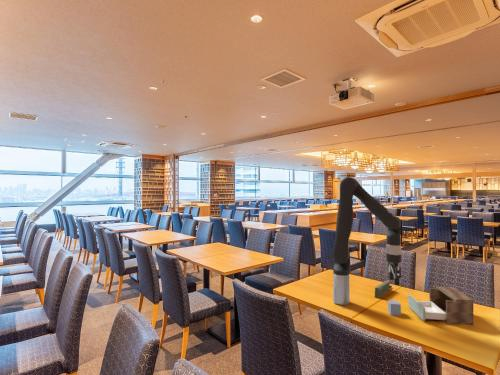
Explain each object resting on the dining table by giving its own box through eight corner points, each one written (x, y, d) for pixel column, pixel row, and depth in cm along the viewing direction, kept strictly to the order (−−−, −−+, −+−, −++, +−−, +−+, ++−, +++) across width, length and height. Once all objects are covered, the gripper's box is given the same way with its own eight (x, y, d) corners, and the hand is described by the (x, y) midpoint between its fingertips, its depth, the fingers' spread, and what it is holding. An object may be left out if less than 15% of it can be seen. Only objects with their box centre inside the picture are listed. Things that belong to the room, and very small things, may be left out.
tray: (423, 320, 147) (423, 307, 147) (408, 305, 166) (408, 294, 166) (448, 322, 145) (448, 309, 145) (430, 306, 164) (430, 295, 164)
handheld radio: (373, 297, 181) (388, 287, 199) (379, 299, 179) (393, 289, 197) (373, 287, 181) (388, 278, 199) (379, 288, 179) (393, 279, 197)
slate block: (390, 315, 156) (390, 304, 156) (387, 311, 161) (387, 300, 161) (400, 315, 155) (400, 304, 155) (397, 311, 160) (397, 300, 160)
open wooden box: (447, 323, 145) (447, 298, 145) (429, 308, 164) (429, 286, 164) (473, 325, 144) (473, 300, 144) (452, 309, 162) (452, 287, 162)
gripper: (382, 249, 166) (382, 278, 166) (390, 255, 152) (391, 286, 152) (396, 250, 165) (396, 278, 165) (406, 255, 151) (406, 287, 151)
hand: (394, 282), depth 158 cm, fingers open, 8 cm apart
